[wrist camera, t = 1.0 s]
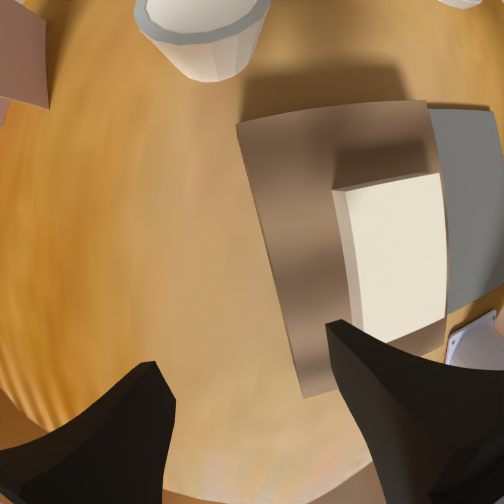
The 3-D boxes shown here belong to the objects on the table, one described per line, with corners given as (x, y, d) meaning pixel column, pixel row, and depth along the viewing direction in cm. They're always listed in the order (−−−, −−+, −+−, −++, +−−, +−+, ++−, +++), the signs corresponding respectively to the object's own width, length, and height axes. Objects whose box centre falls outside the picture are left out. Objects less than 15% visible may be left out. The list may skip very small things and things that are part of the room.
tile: (428, 305, 16) (444, 317, 14) (353, 333, 16) (364, 350, 14) (419, 172, 14) (439, 172, 12) (331, 190, 14) (345, 191, 12)
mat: (501, 280, 21) (505, 282, 20) (423, 321, 21) (427, 324, 20) (489, 112, 16) (493, 111, 16) (400, 111, 16) (404, 109, 16)
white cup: (153, 85, 16) (113, 45, 9) (180, 12, 14) (159, -43, 7) (251, 98, 16) (256, 53, 9) (271, 21, 15) (283, -36, 8)
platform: (419, 323, 21) (443, 344, 17) (294, 366, 21) (303, 398, 17) (395, 111, 16) (425, 100, 13) (237, 136, 17) (235, 123, 13)
